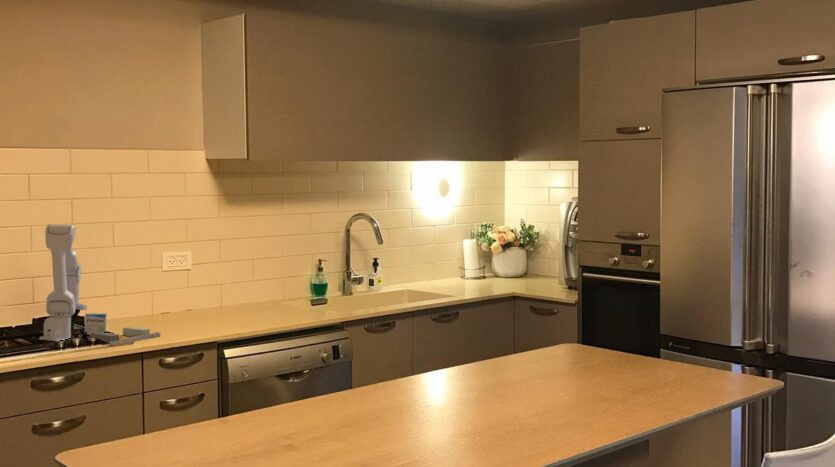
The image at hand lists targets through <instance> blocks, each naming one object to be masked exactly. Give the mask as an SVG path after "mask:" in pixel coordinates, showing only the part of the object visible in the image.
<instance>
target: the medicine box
mask: <svg viewBox="0 0 835 467" xmlns="http://www.w3.org/2000/svg"><path fill="white" fill-rule="evenodd" d="M107 314H108V313H107V312H103V313H102V312H97V313H96V312H95V313H94V312H93V313H92V312H86V313H85V314H84V333H85V332H106V333H107Z"/></svg>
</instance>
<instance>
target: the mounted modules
mask: <svg viewBox="0 0 835 467" xmlns="http://www.w3.org/2000/svg"><path fill="white" fill-rule="evenodd" d="M150 329H151V328H147V327H138V326H132V325H131V326H125V327H122V336H127V337H135V336H140V335H145V334H151V332H150V331H151V330H150ZM91 337H92V338H98V339H101V340H102V341H104V342H107V343H106V344H109V345H110V341H114V340H119V339H120V334H118V333H117V334H116V333H111V332H106V333H104V332H95V333H91V336H90V338H91Z"/></svg>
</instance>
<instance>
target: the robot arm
mask: <svg viewBox="0 0 835 467" xmlns="http://www.w3.org/2000/svg"><path fill="white" fill-rule="evenodd" d="M44 233H45V234H44V235H45V244H46V245H45V247H46V248H47V249H48V250H50V253H51V261H52V262H51V263H52V279H53V280H52V281H53V283H52V284H53V290H52V292H50V293H49V294H48V295H47V297H46V302H45V303H46V305H45V312H46V314H48V315H49V317H47V318H46V319H45V320H44V322H43V337H42V338H41V340H42V341H43V340H45V341H51V342H61V341H60V340H63V341H66V340H65V339H68V338H70V337H71V336H72V335H71V334H72V333H71V331H72V327H74V326H75V323H76V321H77V317H78V315H79V314H80V312H81V311H87V310H88V309H87V308H88V305H87V304H83V303H81V302H80V282H81V278H82V277H81V276H82V264H80V263H79V262H78V256H77V253H76V251H75V250H73V244H74V242H75V239H76V233H77V232H76V226H75V225H74V224H50V223H48V224H47V225H46V226H45V232H44ZM68 340H69V339H68Z"/></svg>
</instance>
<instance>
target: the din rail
mask: <svg viewBox="0 0 835 467" xmlns="http://www.w3.org/2000/svg"><path fill="white" fill-rule="evenodd" d="M159 337H161V332H153V333H152V332H150V334H145V335H140V336H135V337H133V336H129V337H126V338H119V340H114V341H110V344H109V346H112V347H114V346H119V345H124V344H128V343H134V342H138V341H145V340H149V339H153V338H159Z"/></svg>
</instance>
